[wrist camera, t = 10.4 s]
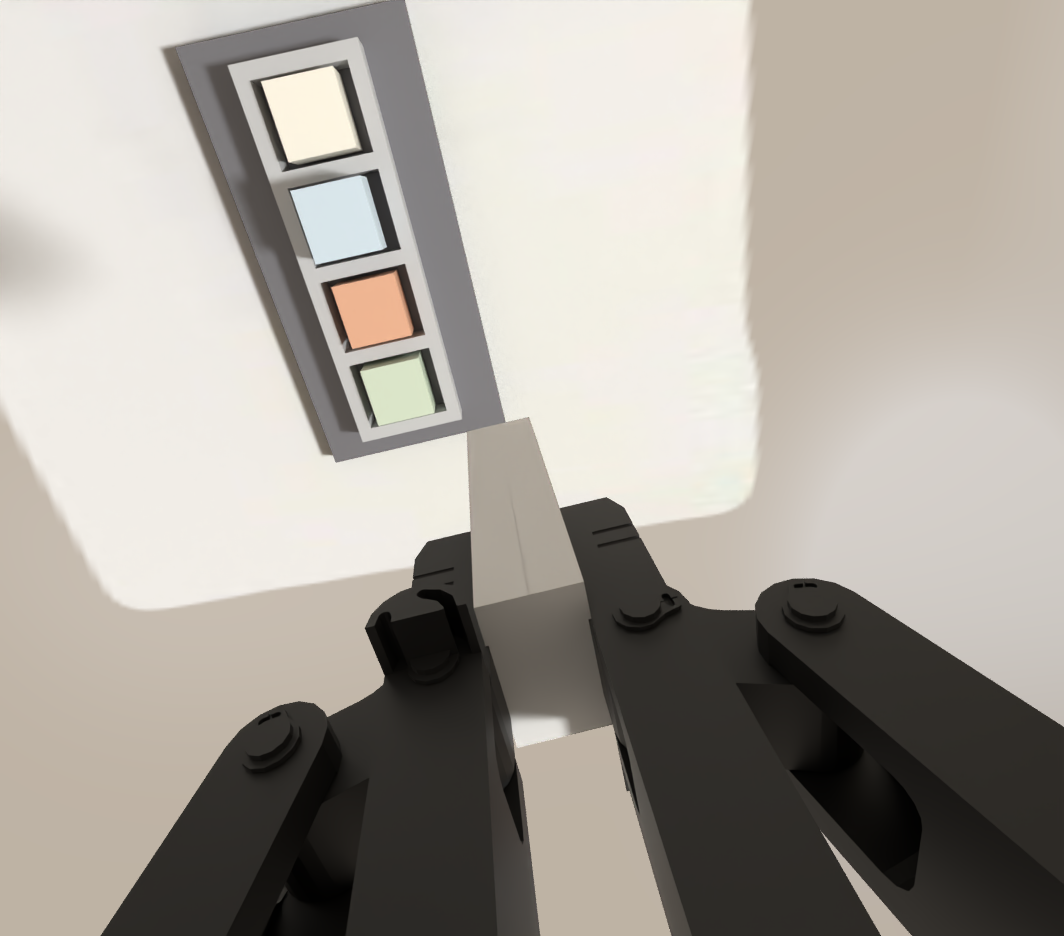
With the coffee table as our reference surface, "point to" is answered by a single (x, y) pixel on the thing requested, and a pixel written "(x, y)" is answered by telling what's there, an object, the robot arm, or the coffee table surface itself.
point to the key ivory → (312, 115)
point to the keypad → (401, 203)
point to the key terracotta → (373, 309)
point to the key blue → (339, 219)
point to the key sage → (398, 387)
